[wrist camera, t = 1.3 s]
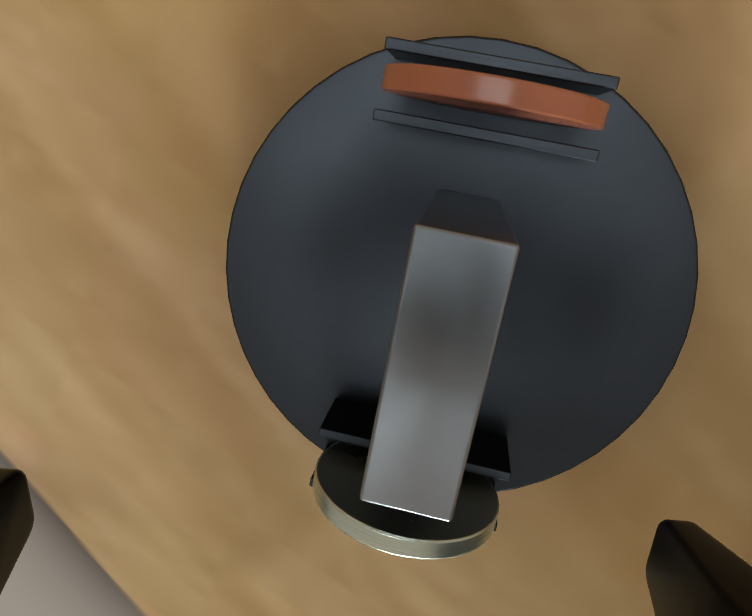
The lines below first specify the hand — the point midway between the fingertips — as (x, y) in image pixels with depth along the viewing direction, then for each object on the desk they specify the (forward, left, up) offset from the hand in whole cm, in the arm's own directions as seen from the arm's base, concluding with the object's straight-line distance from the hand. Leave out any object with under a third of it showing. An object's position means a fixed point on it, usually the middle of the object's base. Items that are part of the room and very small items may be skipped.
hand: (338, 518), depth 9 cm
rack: (-1, -1, -14) cm, 14 cm away
